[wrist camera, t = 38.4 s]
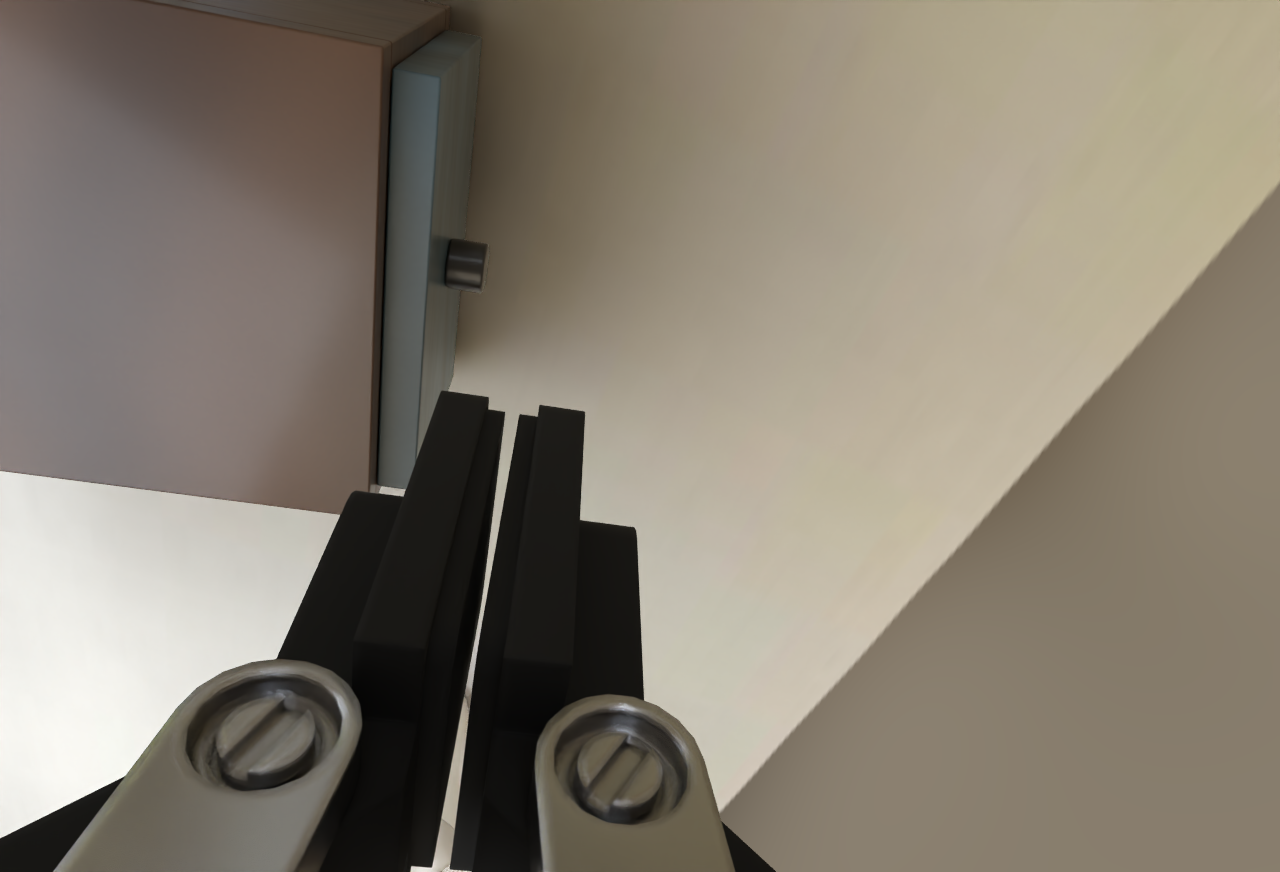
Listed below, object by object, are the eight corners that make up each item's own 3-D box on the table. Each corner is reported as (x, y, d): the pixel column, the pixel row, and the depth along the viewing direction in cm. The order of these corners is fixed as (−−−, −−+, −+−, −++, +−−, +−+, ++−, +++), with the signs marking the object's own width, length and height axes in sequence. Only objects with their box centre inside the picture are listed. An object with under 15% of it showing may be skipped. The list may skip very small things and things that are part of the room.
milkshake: (372, 721, 46) (318, 906, 37) (419, 661, 44) (372, 843, 35) (447, 751, 47) (412, 936, 39) (496, 695, 45) (470, 878, 37)
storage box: (519, 44, 28) (490, 86, 21) (483, 381, 34) (452, 496, 28) (68, -46, 26) (-119, -31, 19) (119, 326, 33) (-9, 435, 26)
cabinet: (451, 5, 28) (383, 46, 20) (426, 374, 35) (368, 519, 27) (-1, -86, 26) (-283, -85, 18) (68, 320, 33) (-112, 457, 25)
